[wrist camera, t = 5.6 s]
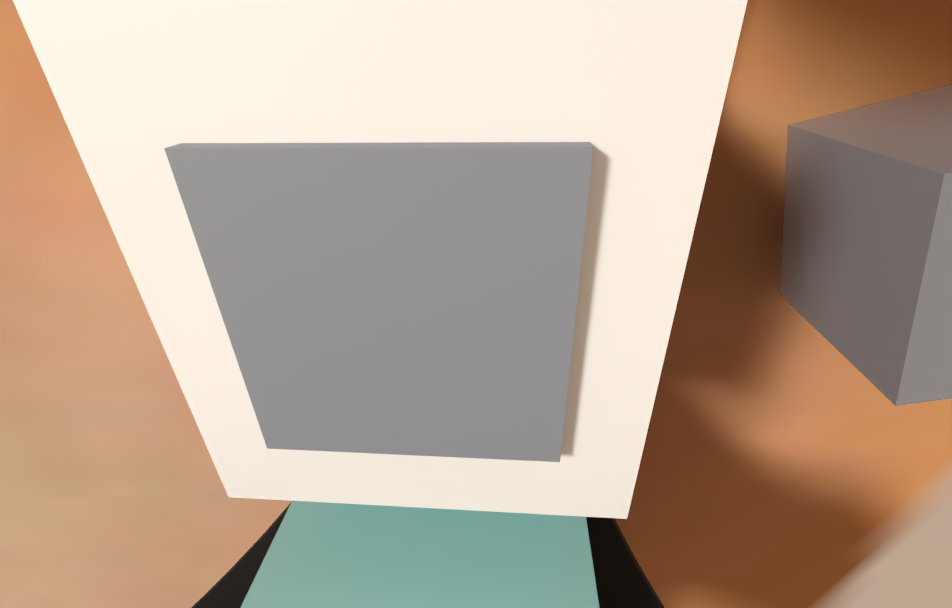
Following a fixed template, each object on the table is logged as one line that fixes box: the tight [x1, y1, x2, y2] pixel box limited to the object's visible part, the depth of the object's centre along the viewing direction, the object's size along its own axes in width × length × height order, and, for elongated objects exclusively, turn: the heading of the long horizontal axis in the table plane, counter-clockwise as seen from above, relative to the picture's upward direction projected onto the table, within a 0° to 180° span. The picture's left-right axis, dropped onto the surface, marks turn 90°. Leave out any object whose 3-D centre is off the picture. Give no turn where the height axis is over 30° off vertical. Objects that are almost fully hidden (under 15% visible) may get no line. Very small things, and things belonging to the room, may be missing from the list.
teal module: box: [241, 501, 599, 608], centre depth 10 cm, size 6×4×7 cm
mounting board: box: [13, 0, 748, 519], centre depth 10 cm, size 22×10×7 cm, turn 1°
